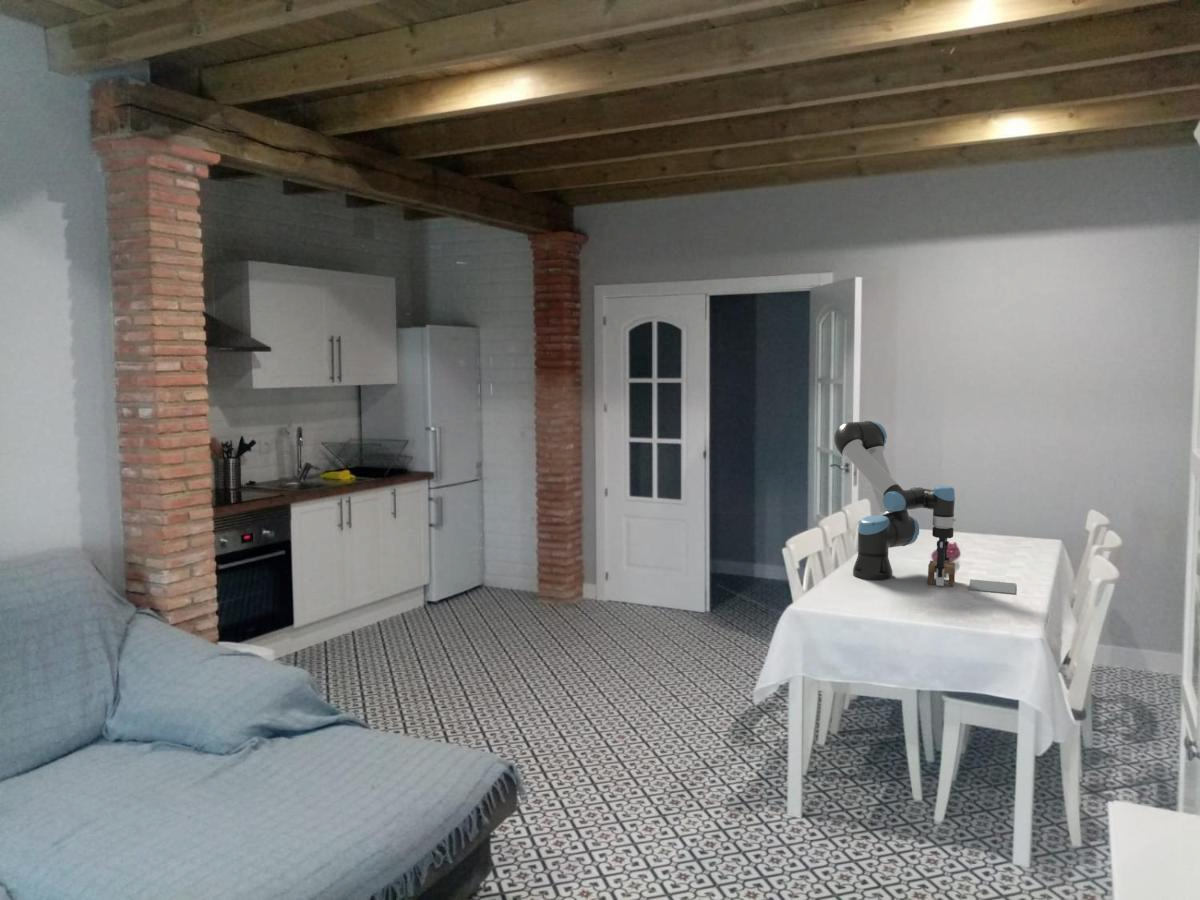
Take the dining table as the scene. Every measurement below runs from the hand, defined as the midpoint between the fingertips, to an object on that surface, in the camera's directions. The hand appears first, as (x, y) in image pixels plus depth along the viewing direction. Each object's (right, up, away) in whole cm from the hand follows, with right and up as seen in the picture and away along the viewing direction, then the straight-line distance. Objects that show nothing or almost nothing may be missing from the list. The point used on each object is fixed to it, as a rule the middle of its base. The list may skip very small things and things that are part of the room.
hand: (941, 581), depth 352 cm
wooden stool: (0, -1, 0) cm, 1 cm away
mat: (+17, -1, -6) cm, 18 cm away
